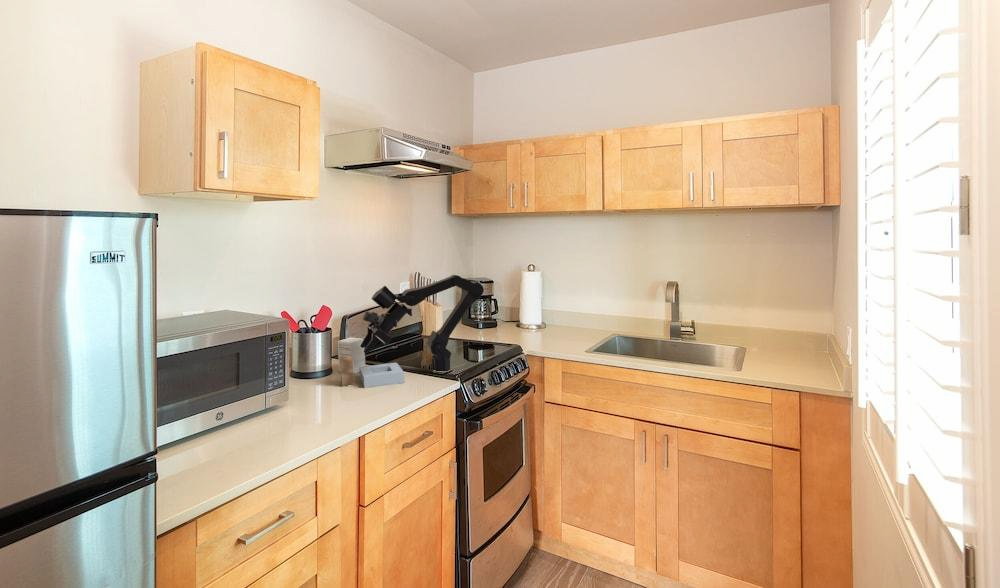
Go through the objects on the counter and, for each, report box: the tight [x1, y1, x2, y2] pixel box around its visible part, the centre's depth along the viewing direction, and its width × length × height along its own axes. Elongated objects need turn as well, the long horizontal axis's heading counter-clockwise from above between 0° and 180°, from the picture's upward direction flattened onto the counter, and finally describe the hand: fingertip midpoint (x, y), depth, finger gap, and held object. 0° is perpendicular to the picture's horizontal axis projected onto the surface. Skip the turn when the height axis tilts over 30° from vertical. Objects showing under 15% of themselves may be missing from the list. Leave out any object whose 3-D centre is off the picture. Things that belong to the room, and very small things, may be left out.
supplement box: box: [337, 337, 366, 375], centre depth 189 cm, size 7×7×13 cm
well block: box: [358, 362, 405, 389], centre depth 177 cm, size 14×14×4 cm
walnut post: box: [340, 356, 355, 387], centre depth 172 cm, size 4×4×10 cm
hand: (362, 349), depth 173 cm, fingers open, 9 cm apart
